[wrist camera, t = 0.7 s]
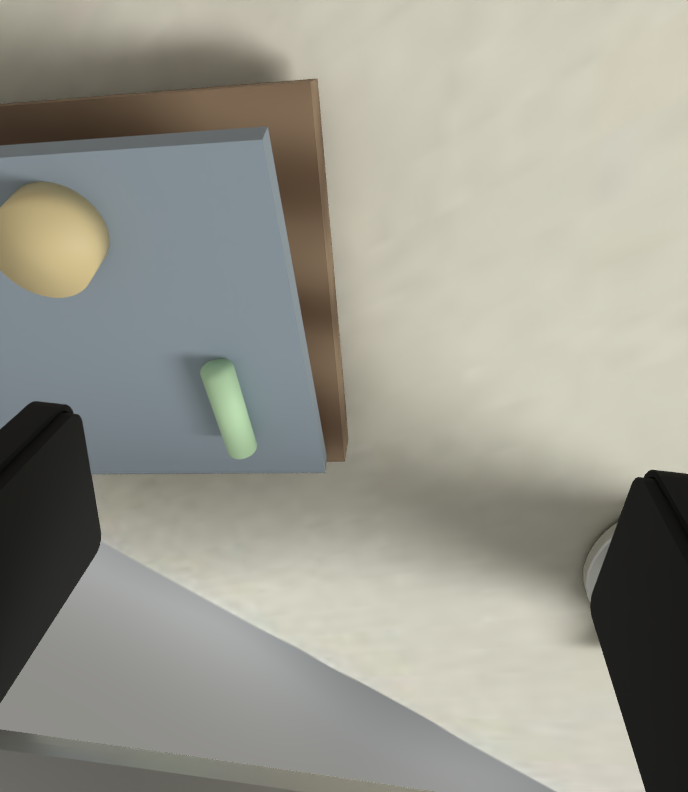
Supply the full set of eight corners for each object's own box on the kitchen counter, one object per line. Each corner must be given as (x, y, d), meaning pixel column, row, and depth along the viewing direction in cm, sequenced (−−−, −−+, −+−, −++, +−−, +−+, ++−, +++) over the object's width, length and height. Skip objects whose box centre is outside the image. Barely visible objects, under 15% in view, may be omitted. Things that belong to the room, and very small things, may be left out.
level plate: (326, 456, 36) (321, 501, 34) (38, 459, 38) (15, 501, 36) (267, 126, 23) (252, 164, 21) (-170, 157, 25) (-227, 195, 23)
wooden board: (350, 425, 40) (344, 461, 36) (57, 430, 42) (27, 464, 39) (321, 77, 30) (310, 81, 27) (-58, 107, 32) (-112, 115, 29)
